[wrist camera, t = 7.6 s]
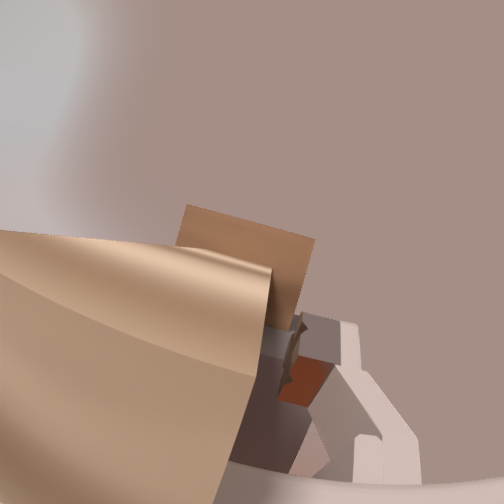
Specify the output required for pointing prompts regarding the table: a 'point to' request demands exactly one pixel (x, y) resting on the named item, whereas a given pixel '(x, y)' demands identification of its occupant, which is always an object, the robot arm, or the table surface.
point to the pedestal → (271, 412)
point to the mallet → (135, 357)
